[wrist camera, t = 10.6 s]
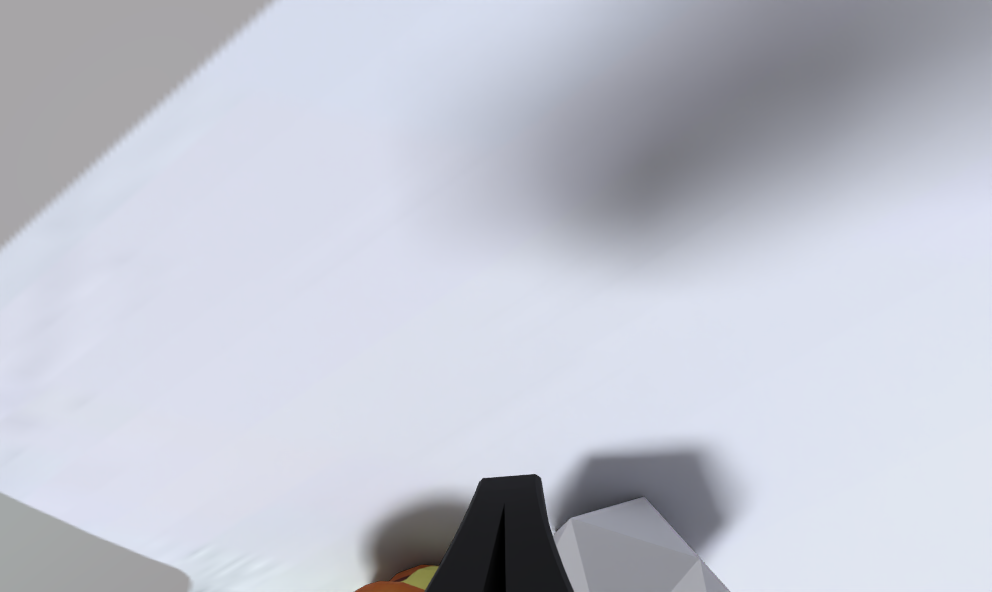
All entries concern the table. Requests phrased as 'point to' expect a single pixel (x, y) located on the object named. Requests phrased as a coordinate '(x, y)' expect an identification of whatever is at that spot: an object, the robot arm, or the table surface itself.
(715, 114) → the table surface
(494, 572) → the robot arm
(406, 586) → the cheeseburger
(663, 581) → the die
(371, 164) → the table surface
